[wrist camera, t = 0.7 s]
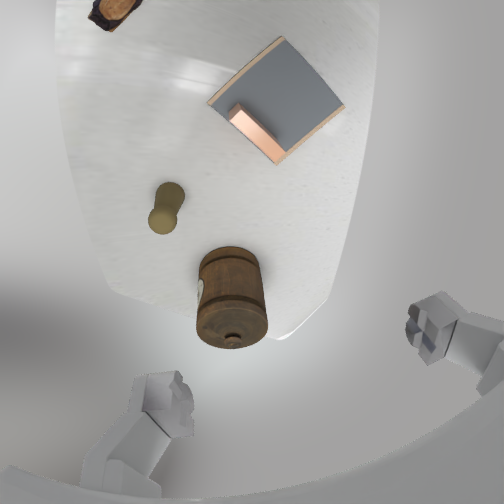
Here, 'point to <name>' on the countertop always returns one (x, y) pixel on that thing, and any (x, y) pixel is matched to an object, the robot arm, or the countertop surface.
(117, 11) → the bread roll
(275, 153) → the tile
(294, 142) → the mat
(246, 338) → the wooden container
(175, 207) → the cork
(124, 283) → the countertop surface
